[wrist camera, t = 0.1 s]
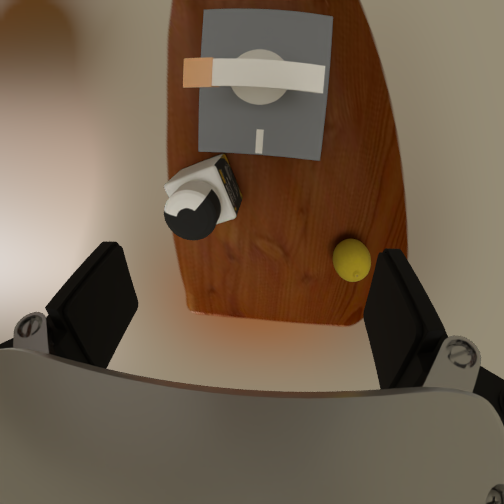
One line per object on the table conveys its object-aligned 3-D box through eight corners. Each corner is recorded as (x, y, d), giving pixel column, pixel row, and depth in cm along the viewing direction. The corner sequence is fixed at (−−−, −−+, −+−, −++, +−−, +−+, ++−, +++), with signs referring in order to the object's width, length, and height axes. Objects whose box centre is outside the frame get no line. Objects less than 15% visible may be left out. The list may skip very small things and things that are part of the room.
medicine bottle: (243, 197, 42) (230, 238, 31) (199, 212, 43) (174, 254, 33) (225, 152, 38) (204, 177, 28) (179, 169, 40) (146, 200, 30)
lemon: (322, 246, 44) (328, 277, 38) (347, 222, 42) (359, 250, 35) (345, 266, 46) (354, 298, 39) (370, 244, 43) (384, 274, 37)
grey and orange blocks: (207, 102, 29) (182, 106, 22) (209, 52, 26) (185, 40, 18) (309, 108, 29) (321, 114, 21) (314, 57, 26) (326, 45, 18)
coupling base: (206, 12, 28) (194, 0, 23) (330, 19, 27) (339, 7, 22) (201, 149, 38) (188, 159, 33) (318, 158, 37) (324, 169, 32)
